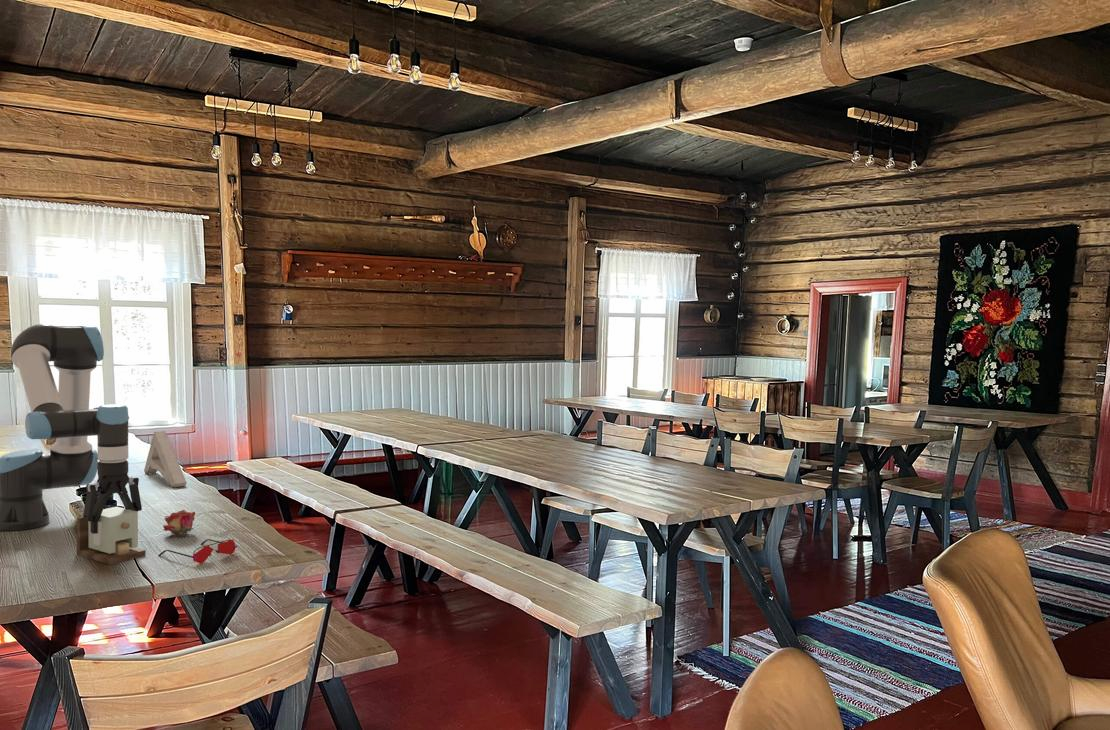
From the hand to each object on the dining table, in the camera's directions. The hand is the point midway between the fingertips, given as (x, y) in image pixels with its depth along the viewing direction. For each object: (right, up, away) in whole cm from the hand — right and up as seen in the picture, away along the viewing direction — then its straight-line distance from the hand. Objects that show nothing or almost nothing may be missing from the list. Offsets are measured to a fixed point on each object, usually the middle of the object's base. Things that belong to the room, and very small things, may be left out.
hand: (113, 540), depth 218 cm
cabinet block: (0, -2, 0) cm, 2 cm away
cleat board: (-1, -4, +1) cm, 4 cm away
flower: (+8, -3, +22) cm, 24 cm away
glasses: (+22, -5, +3) cm, 23 cm away
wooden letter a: (-35, +2, +99) cm, 105 cm away
